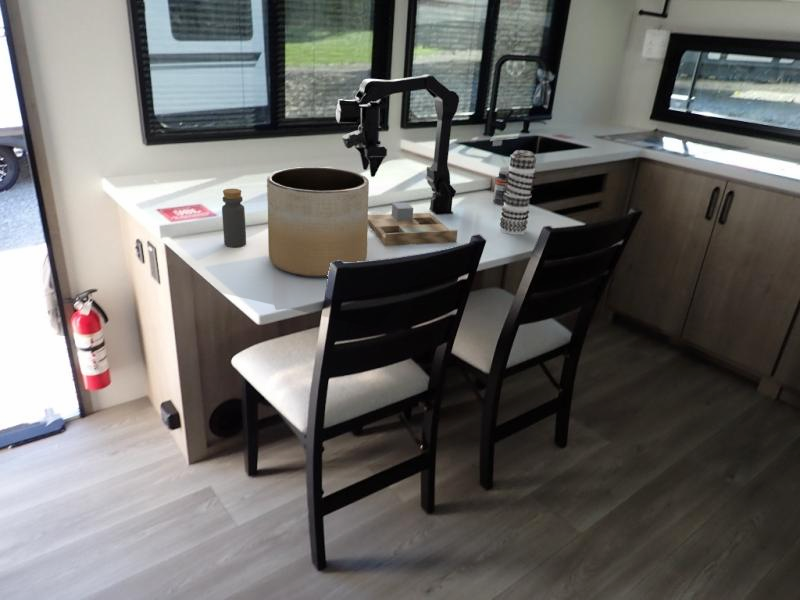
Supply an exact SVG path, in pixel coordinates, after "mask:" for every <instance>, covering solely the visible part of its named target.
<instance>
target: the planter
mask: <svg viewBox="0 0 800 600" xmlns="http://www.w3.org/2000/svg"><path fill="white" fill-rule="evenodd" d="M369 181H370V180H369V179H368V178H367V177H366V176H365V175H363V174H361V173H358V172H356V171H355V172H354V171H351V170H346V169H341V168H337V167H336V168H335V167H323V166H322V167H320V166H303V167H302V166H300V167H291V168H285V169H281V170H276V171H274V172H272V173H270V174H269V175H268V176H267V178H266V189H267V193H266V195H267V232H268V233H267V235H268V236H267V238H268V239H267V240H268V242H267V243H268V257H269V260H270V262H271V264H273V265H274V266H275V267H277V268H278V269H279V270H282V271H283V272H286V273H288V274H291V275H295V276H300V277H308V278H328V277H327V275H328V271H329V267H330V263H331V262H333V261H337V260H341V261H343V262H357V261H365V260H367V255H368V227H369V225H368V215H369V189H370V188H369V185H370V182H369ZM365 262H366V261H365Z"/></svg>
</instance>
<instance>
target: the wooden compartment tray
mask: <svg viewBox="0 0 800 600" xmlns="http://www.w3.org/2000/svg"><path fill="white" fill-rule="evenodd" d="M369 226H370V227H369ZM368 227H369V228H370V229H371V230H372V232H373V231H374V232H375V233H374V232H373V233H374V234H375V236H376V237H378V239H379V240H380V241H381V242H382V244H383V245H384V246H385V247H394V246H411V245H410V244H416V245H433V244H447V243H457V240H458V230H457V229H449V228H448V227H447V226H446V225H445V224H444V223H443V222H441V221H440V220H439V219H438V218H437V217H435V216H434V215H433V214H432V213H430V212H420V213H419V212H417V213H415V212H413V220H411V221H397V220H396V219H395V218H394V217H393V216H392V213H391V214H390V213H389V214H368Z"/></svg>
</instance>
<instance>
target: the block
mask: <svg viewBox="0 0 800 600" xmlns="http://www.w3.org/2000/svg"><path fill="white" fill-rule="evenodd" d="M391 204H392V205H391V214H392V216H393V217H394V218H395V219H396V220H397V221H411V220H413V213H414V207H413V206H412V205H411V204H409V203H408V202H392V203H391Z"/></svg>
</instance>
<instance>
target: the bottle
mask: <svg viewBox="0 0 800 600" xmlns="http://www.w3.org/2000/svg"><path fill="white" fill-rule="evenodd" d="M222 193H223V196H222V202H223V203H224V204H223V206H222V207H221V213H222V227H223V241H224V245H226V246H225V247H228V248H242V247H244V246H246V245H247V232H246V227H247V226H246V215H245V214H246V213H245V212H246V210H245V206H244V205H243V204H242V202H243V201H244V200H243V196H242V190H241V189H240V188H239V189H238V188H227V189H224V190H223V191H222Z"/></svg>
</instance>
